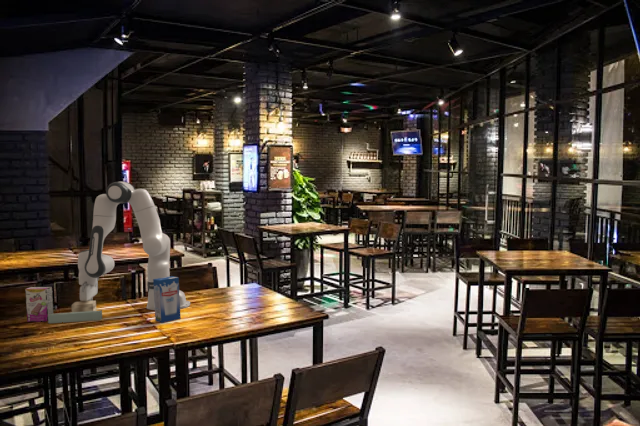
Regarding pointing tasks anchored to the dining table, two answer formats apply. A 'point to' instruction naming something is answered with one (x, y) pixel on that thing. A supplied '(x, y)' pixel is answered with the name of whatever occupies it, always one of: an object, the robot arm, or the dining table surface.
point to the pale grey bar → (75, 316)
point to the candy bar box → (39, 303)
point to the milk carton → (166, 299)
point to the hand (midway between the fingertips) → (89, 306)
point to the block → (84, 306)
